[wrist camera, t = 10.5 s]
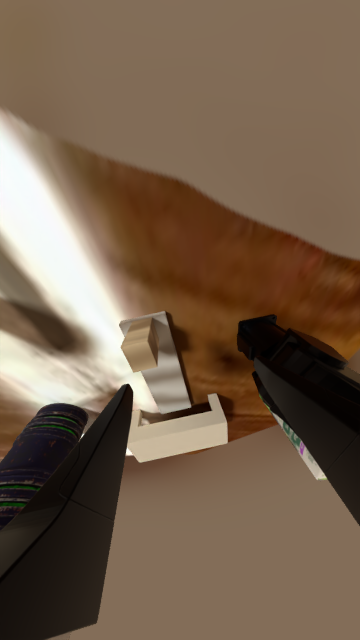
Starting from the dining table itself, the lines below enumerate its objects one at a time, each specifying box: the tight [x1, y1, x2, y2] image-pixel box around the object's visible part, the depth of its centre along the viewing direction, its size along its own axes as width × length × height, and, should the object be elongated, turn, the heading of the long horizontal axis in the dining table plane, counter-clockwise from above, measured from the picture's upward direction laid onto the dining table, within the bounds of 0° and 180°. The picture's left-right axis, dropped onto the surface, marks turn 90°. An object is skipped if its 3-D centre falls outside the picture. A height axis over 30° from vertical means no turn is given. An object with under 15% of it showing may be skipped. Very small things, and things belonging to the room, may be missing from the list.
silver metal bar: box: [119, 311, 191, 414], centre depth 24 cm, size 24×7×8 cm, turn 12°
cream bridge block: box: [127, 394, 227, 462], centre depth 31 cm, size 20×9×6 cm, turn 100°
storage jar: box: [0, 403, 88, 531], centre depth 23 cm, size 10×10×15 cm
